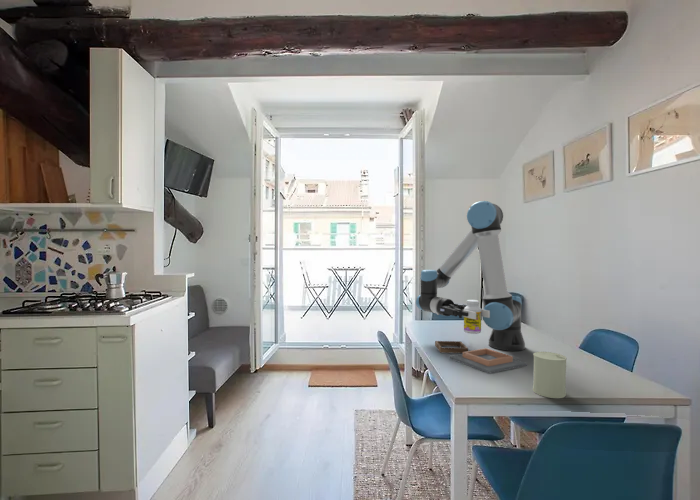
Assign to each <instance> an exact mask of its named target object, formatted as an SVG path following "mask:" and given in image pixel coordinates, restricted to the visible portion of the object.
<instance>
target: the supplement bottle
mask: <svg viewBox="0 0 700 500" xmlns="http://www.w3.org/2000/svg"><path fill="white" fill-rule="evenodd" d="M466 304H467V306H466V307H465V308H464V310H468V311H473V312H476V319H471V318H467V317H463V331H464V332H465V333H467V334H471V335H478V334H480V333H482V316H481V309H482V308H481V306H479V304H480V301H479V300H477V299H467V300H466Z"/></svg>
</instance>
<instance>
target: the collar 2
mask: <svg viewBox="0 0 700 500" xmlns="http://www.w3.org/2000/svg"><path fill="white" fill-rule="evenodd" d="M462 354H463V357H464V358H467V359H469V360H472V361H475V362H478V363H480V364H483V365H486V366H493V365H498V364H503V363H508V362H513V359H514V357H513V355H510V354H507V353H502V352H499V351H496V350H494V349H490V348H488V347H487V348H485V347H484V348H479V349H473V350H468V351H466V352H463V353H462ZM483 354H488V355H491V356H494V357H497V358H496V359H491V360H487V359H484V358H481V357H478V356H477V355H483Z"/></svg>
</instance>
